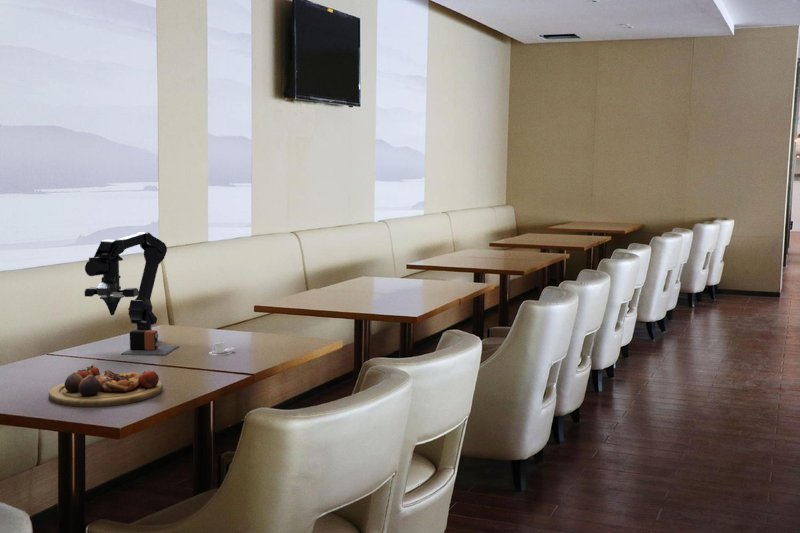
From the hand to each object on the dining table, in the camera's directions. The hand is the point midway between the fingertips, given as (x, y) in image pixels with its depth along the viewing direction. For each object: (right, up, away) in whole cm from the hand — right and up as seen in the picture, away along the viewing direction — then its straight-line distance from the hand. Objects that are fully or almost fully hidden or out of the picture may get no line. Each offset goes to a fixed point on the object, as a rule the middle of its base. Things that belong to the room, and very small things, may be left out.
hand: (112, 315), depth 334 cm
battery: (+9, -9, -6) cm, 14 cm away
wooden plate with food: (+21, -20, -69) cm, 75 cm away
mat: (+16, -13, -6) cm, 21 cm away
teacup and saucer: (+45, -14, -11) cm, 48 cm away
